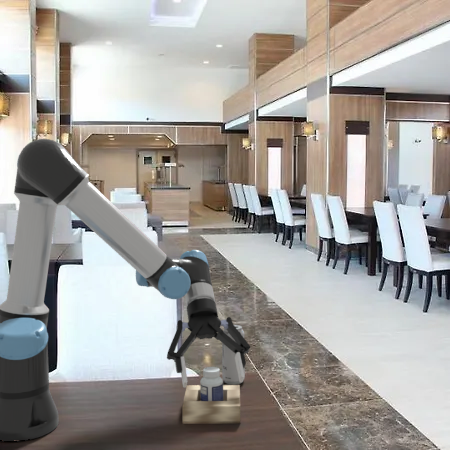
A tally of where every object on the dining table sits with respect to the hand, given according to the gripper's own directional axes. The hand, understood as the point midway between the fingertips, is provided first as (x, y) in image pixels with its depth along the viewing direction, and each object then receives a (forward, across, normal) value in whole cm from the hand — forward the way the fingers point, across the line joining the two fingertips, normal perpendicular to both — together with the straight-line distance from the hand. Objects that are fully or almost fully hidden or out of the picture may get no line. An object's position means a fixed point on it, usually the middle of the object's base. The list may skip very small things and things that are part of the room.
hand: (214, 382), depth 136 cm
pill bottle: (+4, 0, -6) cm, 7 cm away
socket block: (+4, 0, -6) cm, 8 cm away
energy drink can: (-8, -10, -19) cm, 23 cm away
